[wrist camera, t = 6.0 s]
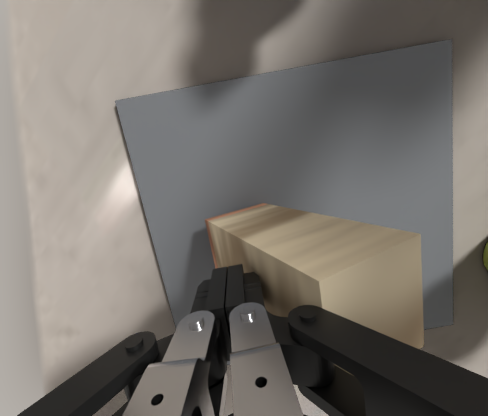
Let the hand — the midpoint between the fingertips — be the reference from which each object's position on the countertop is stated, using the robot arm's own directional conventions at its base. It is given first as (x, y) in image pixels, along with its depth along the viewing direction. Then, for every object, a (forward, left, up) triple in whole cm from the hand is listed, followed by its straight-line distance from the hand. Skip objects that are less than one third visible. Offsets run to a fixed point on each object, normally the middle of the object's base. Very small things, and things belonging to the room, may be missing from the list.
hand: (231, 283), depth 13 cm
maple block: (0, +1, -7) cm, 7 cm away
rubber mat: (0, +6, -9) cm, 11 cm away
